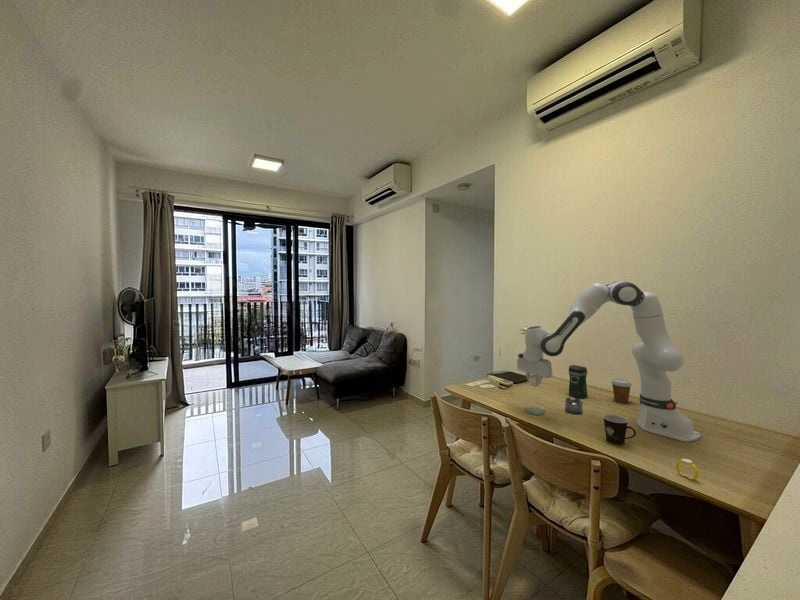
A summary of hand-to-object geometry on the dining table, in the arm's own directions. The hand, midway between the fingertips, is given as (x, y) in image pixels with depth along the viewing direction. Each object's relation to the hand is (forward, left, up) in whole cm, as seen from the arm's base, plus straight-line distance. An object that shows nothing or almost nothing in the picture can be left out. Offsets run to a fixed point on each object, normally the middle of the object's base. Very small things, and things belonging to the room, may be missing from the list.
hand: (534, 382), depth 169 cm
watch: (-66, +2, -16) cm, 68 cm away
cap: (0, 0, -2) cm, 2 cm away
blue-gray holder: (-10, -18, -16) cm, 26 cm away
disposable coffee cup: (-14, -54, -16) cm, 58 cm away
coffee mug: (-41, -2, -16) cm, 44 cm away
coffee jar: (+4, -42, -16) cm, 45 cm away
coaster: (0, 0, -16) cm, 16 cm away
